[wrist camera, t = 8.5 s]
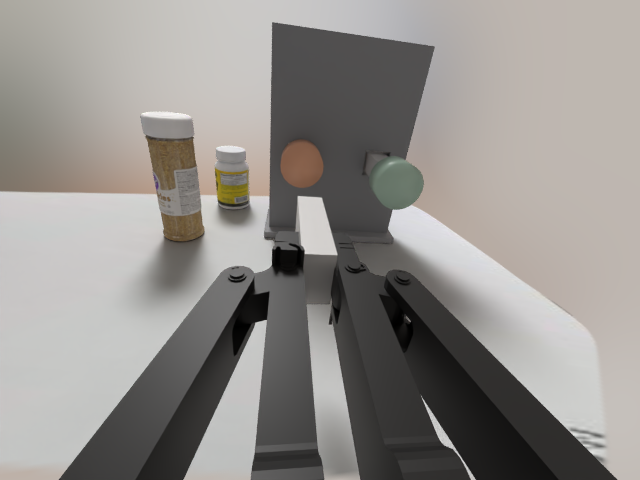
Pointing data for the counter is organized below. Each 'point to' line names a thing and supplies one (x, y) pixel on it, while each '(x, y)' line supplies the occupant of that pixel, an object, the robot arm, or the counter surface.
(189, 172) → the spice jar
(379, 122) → the button panel
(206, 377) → the robot arm
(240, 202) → the supplement bottle
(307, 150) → the rust button
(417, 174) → the sage button
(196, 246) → the counter surface
